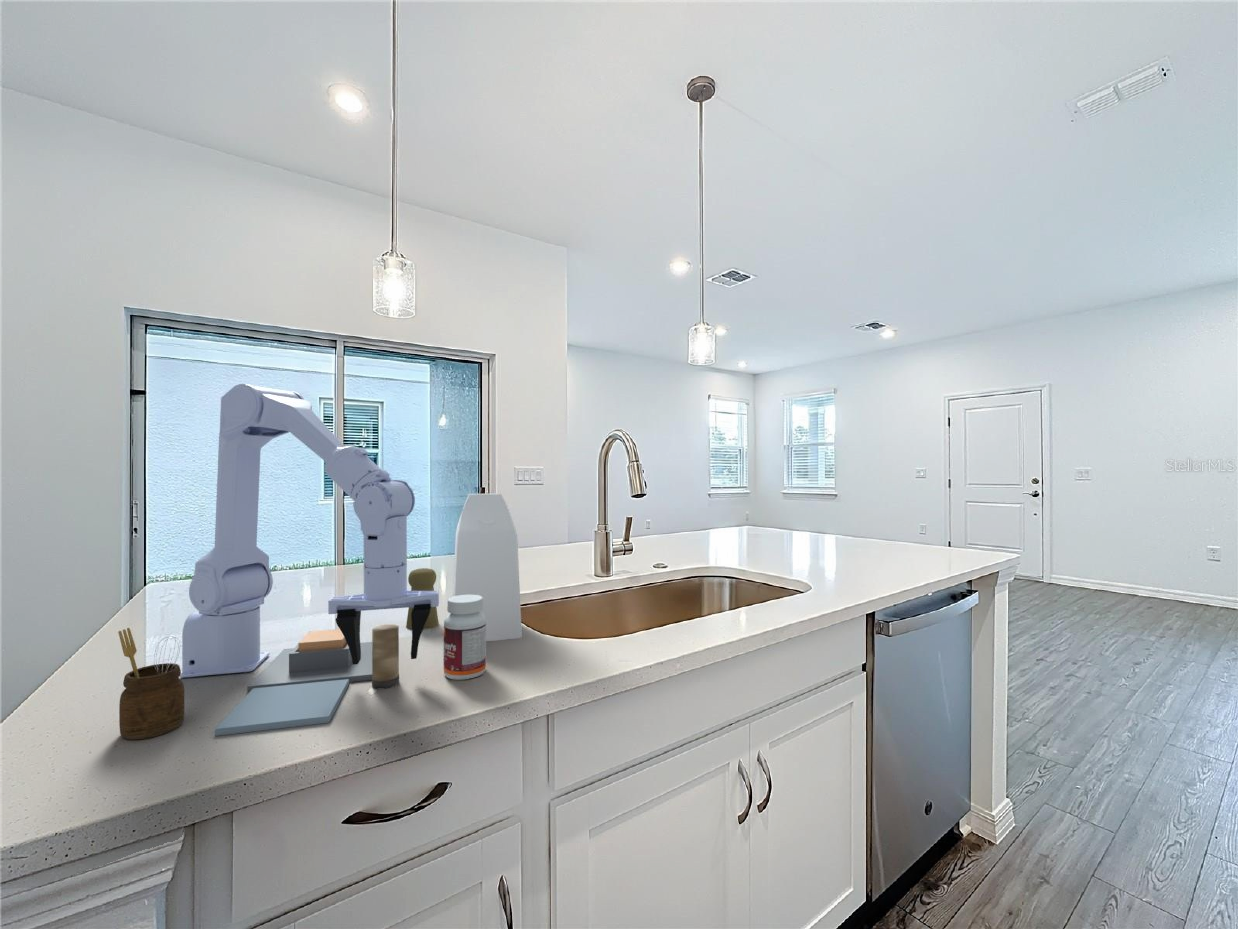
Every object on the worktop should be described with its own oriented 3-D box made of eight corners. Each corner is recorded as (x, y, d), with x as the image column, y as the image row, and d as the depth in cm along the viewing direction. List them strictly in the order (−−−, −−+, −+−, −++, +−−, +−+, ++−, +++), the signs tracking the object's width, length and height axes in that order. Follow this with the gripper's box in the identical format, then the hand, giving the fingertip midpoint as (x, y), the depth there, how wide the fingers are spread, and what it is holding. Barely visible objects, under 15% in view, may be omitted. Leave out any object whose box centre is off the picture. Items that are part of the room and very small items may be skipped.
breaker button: (298, 656, 82) (298, 643, 82) (309, 643, 88) (309, 631, 88) (342, 652, 84) (342, 639, 84) (350, 640, 90) (350, 628, 90)
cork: (428, 630, 104) (428, 572, 104) (399, 628, 105) (399, 571, 105) (444, 621, 110) (444, 566, 110) (417, 620, 111) (417, 565, 111)
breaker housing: (247, 692, 76) (247, 666, 76) (284, 653, 92) (284, 632, 92) (372, 679, 80) (372, 655, 80) (387, 645, 96) (387, 624, 96)
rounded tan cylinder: (370, 690, 77) (369, 632, 77) (374, 680, 80) (374, 625, 80) (397, 687, 78) (397, 630, 78) (400, 677, 81) (400, 623, 81)
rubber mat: (214, 735, 64) (214, 729, 64) (253, 694, 75) (253, 688, 75) (329, 722, 67) (329, 716, 67) (349, 684, 79) (349, 679, 79)
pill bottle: (436, 672, 83) (436, 598, 83) (473, 662, 87) (473, 591, 87) (455, 684, 79) (455, 605, 79) (493, 673, 83) (493, 598, 83)
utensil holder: (161, 740, 63) (161, 635, 63) (102, 743, 62) (101, 637, 62) (196, 717, 69) (196, 621, 69) (142, 718, 68) (142, 622, 68)
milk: (513, 620, 111) (513, 491, 111) (521, 637, 100) (521, 494, 100) (451, 626, 107) (451, 492, 107) (452, 644, 96) (452, 496, 96)
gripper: (322, 572, 73) (323, 675, 73) (437, 567, 77) (437, 663, 77) (334, 563, 80) (335, 657, 80) (439, 558, 84) (439, 647, 84)
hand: (385, 659), depth 79 cm, fingers open, 7 cm apart
